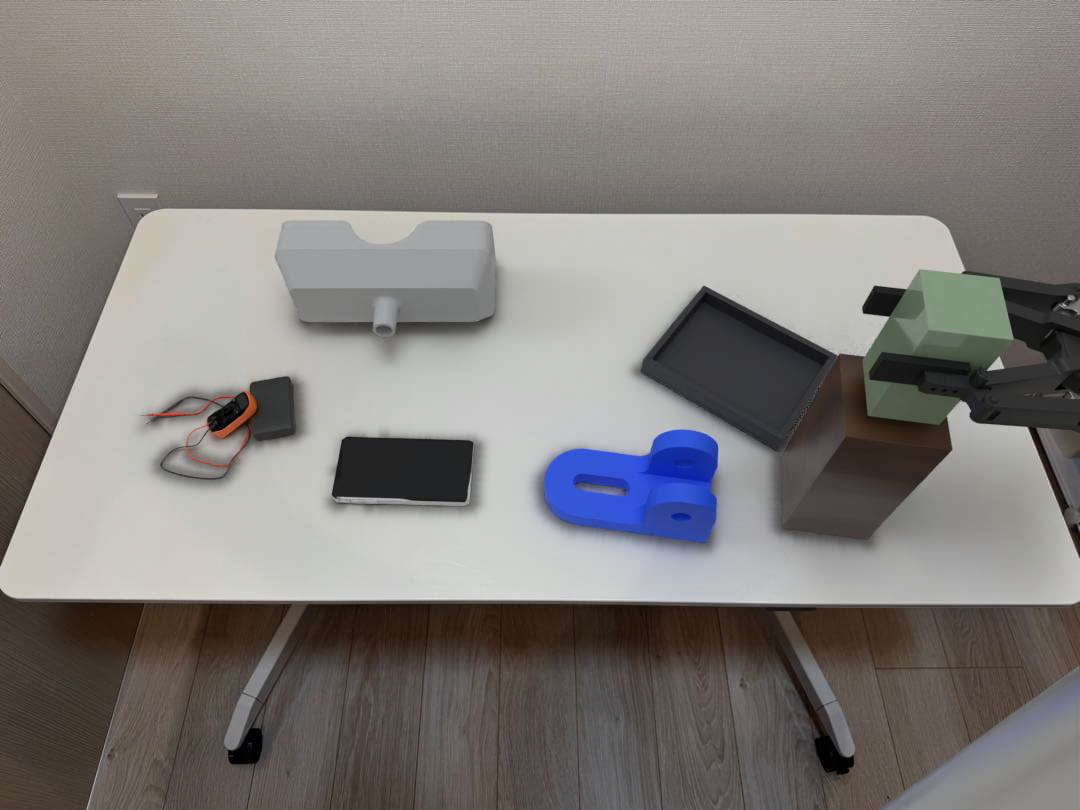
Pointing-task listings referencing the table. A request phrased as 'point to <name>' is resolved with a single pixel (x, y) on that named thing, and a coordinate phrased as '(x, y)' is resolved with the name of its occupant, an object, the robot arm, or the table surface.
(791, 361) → the tray
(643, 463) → the bracket
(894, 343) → the green block
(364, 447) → the smartphone
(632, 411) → the table surface
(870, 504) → the stand
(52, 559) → the table surface
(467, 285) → the tank
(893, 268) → the table surface
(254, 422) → the multimeter
